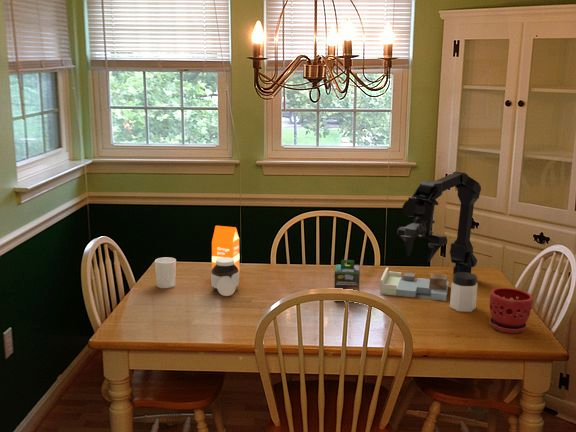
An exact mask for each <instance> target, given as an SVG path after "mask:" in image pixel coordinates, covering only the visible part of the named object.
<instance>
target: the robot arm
mask: <svg viewBox="0 0 576 432" xmlns="http://www.w3.org/2000/svg"><path fill="white" fill-rule="evenodd" d="M454 187H455V188H456V190H457V198H458V201H459V202H460V205H459V207H460V208H459V216H458V223H457V225H458V226H457V231H456V232H457V234H456V239H455V240H454V241H453V242H452V243H451V244H450V250H449V256H450V260H451V263H453V264H454V265H453V271H452V275H453V274H454V273H457V272H468V273H472V268H475V266H477V263H478V259H477V257H476V256H475V255H474V247H473V245H472V243H471V233H472V224H473V215H474V207H475V204H476V202H477V201H478V200H479V198H480V195H481V191H482V188H481V187H482V186H481V184H480V183H479V182H478V181H477V180H476V179H474V178H473V177H470V176H469V175H468V173H466V172H462V171H453V172H452V173H451V174H447V175H446V176H443V177H441V178H439V179H436V180H424V181H422V182H421V181H420V183H419V184H418V186H417V188H416V189H415V191H414V192H413V194H412V196H409V197H408V199H407V201H405V202H404V203H403V204H402V207H401V208H402V213H403V215H404V216H406V217H408V218H409V217H410V218H411V217H412V218H414V219H413V221H412V223H409V224H407V225H406V226H399V228H397V233H396V234H397V235H399V237H400V238H401V239H402V240H403V242H404V245H405V250H406V251H405V252H406V255H407V256H408V257H409V256H410V255H411V253H412V250H413V247H414V242H415V239H416V238H421V239H424V240H428V241H429V242H427V245H428V254H427V259H426V260H427V262H429V263H430V262H431V261H432V259H433V258H434V256H435V255H436V254H437V252H438V250H439V249H440V248H441V247H444V245H447V244H448V238H447V236H445V235H441V234H433V231H432V228H433V227H432V226H433V224H435V220H434V214H435V207H436V206H439V202H438V201H437V199H438V198H440V197H441V196H442V195H443V192H445V191H447V190H450V189H452V188H454Z"/></svg>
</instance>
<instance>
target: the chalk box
mask: <svg viewBox="0 0 576 432" xmlns="http://www.w3.org/2000/svg"><path fill="white" fill-rule="evenodd" d="M360 266H361V265H360V264H355V260H353V259H342V260H341V261H340V264H335V266H334V276H333V277H334V279H333V282H334V284H333V286H334V287H333V289H334V288H343V289H353V290H358V291H359V292H360V282H361V281H360V280H361V278H360V276H361V275H360V273H361V269H360ZM333 301H334V300H333ZM334 302H336V301H334ZM338 302H342V301H338ZM342 303H343V302H342Z"/></svg>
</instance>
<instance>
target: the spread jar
mask: <svg viewBox="0 0 576 432" xmlns="http://www.w3.org/2000/svg"><path fill="white" fill-rule="evenodd" d="M210 278H211V279H210V283H211V284H210V285H211V287H212V288H213V289H214V291H216V292H218V293H219V295H221V296H224V297H229V296H232V295H233V294H234V293H235V291H236V290H237V288H238V287H239V283H240V269H239V270H238V268H237V266H236V265H234V259H233V258H229V257H222V258H218V259H216V265H215V266H214V267H213V269H212V268H211V273H210Z"/></svg>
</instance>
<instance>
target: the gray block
mask: <svg viewBox="0 0 576 432" xmlns="http://www.w3.org/2000/svg"><path fill="white" fill-rule="evenodd" d="M402 280H403V281H413V282H416V274H415V273H410V272H404V274H403V279H402Z"/></svg>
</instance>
